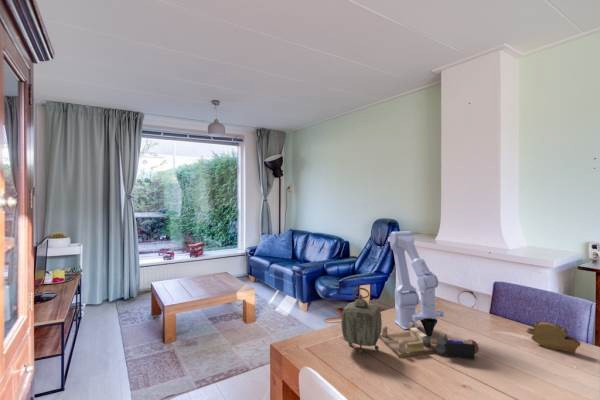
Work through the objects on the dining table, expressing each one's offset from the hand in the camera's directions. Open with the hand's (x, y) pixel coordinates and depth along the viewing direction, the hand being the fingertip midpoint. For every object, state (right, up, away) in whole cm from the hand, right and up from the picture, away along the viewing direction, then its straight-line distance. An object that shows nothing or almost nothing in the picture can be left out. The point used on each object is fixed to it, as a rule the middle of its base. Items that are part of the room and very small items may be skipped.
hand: (428, 335), depth 132 cm
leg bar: (-4, -1, -3) cm, 5 cm away
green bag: (-29, -3, -7) cm, 30 cm away
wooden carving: (+45, -1, -9) cm, 45 cm away
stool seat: (-10, -2, -3) cm, 11 cm away
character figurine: (+5, -2, -13) cm, 14 cm away
